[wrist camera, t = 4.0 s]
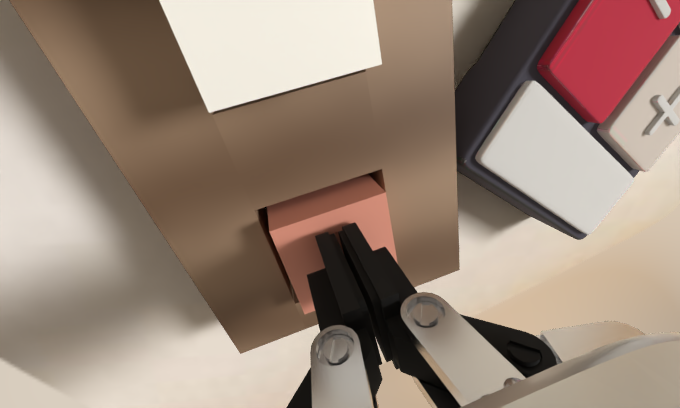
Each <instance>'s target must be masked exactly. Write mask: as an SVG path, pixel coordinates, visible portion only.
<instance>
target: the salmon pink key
mask: <svg viewBox="0 0 680 408" xmlns="http://www.w3.org/2000/svg"><path fill="white" fill-rule="evenodd" d="M267 212H268V222H269V232H270V234H271V237H272V239H273V241H274V244H275V246H276V248H277V251H278V253H279V255H280V258H281V260H282V262H283V265H284V267H285V270H286V272H287V274H288V277H289V279H290V281H291V284H292V286H293V288H294V291H295V293H296V295H297V298H298V300H299V302H300V305H301V307H302V310H303V312H304V314H307V313H310V312H313V311H315V308H314V304H313V300H312V295H311V291H310V287H309V283H308V279H307V274H310V273H313V272H316V271H318V270H321V269H324V268H325V265H324V262H323V259H322V256H321V253H320V250H319V247H318V244H317V241H316V238H315V236H316V235H319V234H322V233H325V232H328V233H329V235H330V234H333V233H334V234H335V236H336V238H337V240H338V242H339V245H340V247H341V249H342V251H343V248H342V245H341V241H340V237H339V234H338V232H339V231H342V226H345V225H348V224H351V223H354V222H355V223H356V224H357V226H358V227H359V229H360V231H361V232H362V234H363V235H364V237H365V239H366V240H367V242H368V244H369V245H370V247H371V249H372V250H373V251H374V250H377V249H379V248H382V247H386V248H387V249H388V251H389V252H390V254H391V255H392V256H393V258H394V259H395V261H396V262H397V256H396V250H395V244H394V238H393V232H392V226H391V220H390V214H389V208H388V202H387V196H386V192H385V191H384V190H383V189H382V188H381V187H380V186H379V185H378V184H377V183H376V182H375V181H374V180H373V179H372V178H371V176H370V175H369V174H365V175H362V176H359V177H355V178H352V179H349V180H346V181H343V182H340V183H337V184H334V185H331V186H328V187H325V188H322V189H319V190H316V191H313V192H310V193H306V194H303V195H300V196H297V197H294V198H291V199H288V200H285V201H282V202H279V203H276V204H273V205H270V206H267ZM343 253H344V252H343ZM344 256H345V255H344ZM397 264H398V262H397Z"/></svg>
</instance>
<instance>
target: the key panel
mask: <svg viewBox="0 0 680 408" xmlns="http://www.w3.org/2000/svg"><path fill="white" fill-rule="evenodd" d="M9 1H10V2H11V4H12V5H13V7H14V8H15V10H16V11H17V13H18V14H19V16H20V18H21V19H22V21H23V22H24V24H25V25H26V27H27V28H28V30H29V31H30V33H31V34H32V36H33V37H34V39H35V40H36V42H37V44H38V45H39V47H40V48H41V50H42V51H43V53H44V54H45V56H46V57H47V59H48V60H49V62H50V63H51V65H52V66H53V68H54V69H55V71H56V73H57V74H58V76H59V77H60V79H61V80H62V82H63V83H64V85H65V86H66V88H67V89H68V91H69V92H70V94H71V95H72V97H73V99H74V100H75V102H76V103H77V105H78V106H79V108H80V109H81V111H82V112H83V114H84V115H85V117H86V118H87V120H88V121H89V123H90V125H91V126H92V128H93V129H94V131H95V132H96V134H97V135H98V137H99V138H100V140H101V141H102V143H103V144H104V146H105V147H106V149H107V151H108V152H109V154H110V155H111V157H112V158H113V160H114V161H115V163H116V164H117V166H118V167H119V169H120V170H121V172H122V173H123V175H124V176H125V178H126V180H127V181H128V183H129V184H130V186H131V187H132V189H133V190H134V192H135V193H136V195H137V196H138V198H139V199H140V201H141V202H142V204H143V206H144V207H145V209H146V210H147V212H148V213H149V215H150V216H151V218H152V219H153V221H154V222H155V224H156V225H157V227H158V228H159V230H160V232H161V233H162V235H163V236H164V238H165V239H166V241H167V242H168V244H169V245H170V247H171V248H172V250H173V251H174V253H175V254H176V256H177V257H178V259H179V261H180V262H181V264H182V265H183V267H184V268H185V270H186V271H187V273H188V274H189V276H190V277H191V279H192V280H193V282H194V283H195V285H196V287H197V288H198V290H199V291H200V293H201V294H202V296H203V297H204V299H205V300H206V302H207V303H208V305H209V306H210V308H211V309H212V311H213V313H214V314H215V316H216V317H217V319H218V320H219V322H220V323H221V325H222V326H223V328H224V329H225V331H226V332H227V334H228V335H229V337H230V339H231V340H232V342H233V343H234V345H235V346H236V348H237V349H238V351H239V352H240V354H241V353H244V352H246V351H249V350H252V349H254V348H257V347H259V346H262V345H265V344H267V343H270V342H273V341H275V340H278V339H280V338H283V337H286V336H288V335H291V334H293V333H296V332H299V331H301V330H304V329H306V328H309V327H312V326H314V325H317V324H318V320H317V316H316V312H315V311H313V312H310V313H307V314H304V312H303V310H302V307H301V305H300V302H299V300H298V298H297V295H296V293H295V291H294V288H293V286H292V284H291V281H290V279H289V277H288V274H287V272H286V270H285V267H284V265H283V262H282V260H281V258H280V255H279V253H278V251H277V248H276V246H275V244H274V241H273V239H272V237H271V234H270V232H269V222H268V214H267V212H266V210H265V207H267V206H270V205H273V204H276V203H279V202H282V201H285V200H288V199H291V198H294V197H297V196H300V195H303V194H306V193H310V192H313V191H316V190H319V189H322V188H325V187H328V186H331V185H334V184H337V183H340V182H343V181H346V180H349V179H352V178H355V177H359V176H362V175H365V174H369V175H370V176H371V178H372V179H373V180H374V181H375V182H376V183H377V184H378V185H379V186H380V187H381V188H382V189H383V190H384V191H385V192H386V196H387V202H388V208H389V214H390V220H391V226H392V232H393V238H394V244H395V250H396V256H397V262H398V265H399V267H400V268H401V269H402V271H403V272H404V274H405V275H406V277H407V278H408V280H409V281H410V282H411V284H412V285H413V287H416V286H418V285H421V284H424V283H426V282H429V281H431V280H434V279H437V278H439V277H442V276H444V275H447V274H450V273H452V272H455V271H457V270H459V236H458V199H457V162H456V126H455V89H454V52H453V16H452V0H373V2H374V9H375V16H376V24H377V31H378V38H379V45H380V52H381V60H382V64H381V65H378V66H374V67H371V68H367V69H364V70H360V71H356V72H353V73H349V74H346V75H342V76H339V77H335V78H331V79H328V80H324V81H321V82H317V83H314V84H310V85H307V86H303V87H299V88H296V89H292V90H289V91H285V92H282V93H278V94H274V95H271V96H267V97H264V98H260V99H257V100H253V101H250V102H246V103H242V104H239V105H235V106H232V107H228V108H225V109H221V110H217V111H214V112H210V113H209V112H208V110H207V107H206V105H205V103H204V101H203V98H202V96H201V94H200V92H199V89H198V87H197V85H196V83H195V80H194V78H193V76H192V73H191V71H190V69H189V67H188V64H187V62H186V60H185V58H184V55H183V53H182V51H181V49H180V46H179V44H178V42H177V40H176V37H175V35H174V33H173V30H172V28H171V26H170V24H169V21H168V19H167V17H166V15H165V12H164V10H163V8H162V6H161V3H160V1H159V0H9Z"/></svg>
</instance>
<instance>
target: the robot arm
mask: <svg viewBox="0 0 680 408" xmlns="http://www.w3.org/2000/svg"><path fill="white" fill-rule="evenodd" d="M338 234H339V237H340V241H341V245H342V248H343V251H342V249H341V247H340V245H339V242H338V240H337V238H336V236H335V234H334V233H333V234H330V235H329V233H328V232H325V233H322V234H319V235H316V236H315V238H316V241H317V244H318V247H319V250H320V253H321V256H322V259H323V262H324V265H325V268H324V269H321V270H318V271H316V272H313V273H310V274H307V279H308V283H309V287H310V291H311V295H312V300H313V304H314V308H315V312H316V316H317V320H318V324H319V328H320V333H319V334H318V335H317V336H316V338H315V339H314V341H313V343H312V346H311V368H310V370H309V371H308V373H307V375H306V376H305V378H304V380H303V381H302V383H301V385H300V386H299V388H298V390H297V391H296V393H295V395H294V396H293V398H292V400H291V401H290V403H289V405H288V406H287V408H379V405H378V401H377V397H376V394H377V391H378V389H379V386H380V384H381V381H382V376H381V372H380V369H379V365H381V364H382V361H381V357H380V354H379V350H378V346H377V342H378V344H379V346H380V349H381V351H382V353H383V355H384V358H385V360H386V362H388V361H391V360H392V361H393V364H394V366H395V368H396V369H400V371H401V372H403V373H406V374H408V375H411V376H412V377H413V380H414V382H415V383H416V385H417V386H418V388H419V389H420V391H421V392H422V394H423V395H424V397H425V398H426V400H427V401H428V403H429V404H430V405H431V407H432V408H680V332H667V333H652V334H646V335H645V334H644V333H643V332H641V331H640V330H639V329H636V328H634V327H632V326H630V325H628V324H625V323H620V322H617V321H604V322H598V323H591V324H585V325H579V326H572V327H566V328H559V329H552V330H546V331H541V335H536V336H534V335H532V334H529V333H526V332H523V331H520V330H516V329H512V328H508V327H505V326H501V325H497V324H494V323H490V322H486V321H483V320H479V319H474V318H471V317H468V316H464V315H460V314H459V313H457V312H456V311H455V310H454V309H453V308H452V307H451V306H450V305H449V304H448V303H447V302H446V301H445V300H444V299H442V298H441V297H440V296H438V295H435V294H433V293H426V292H422V293H417V291H416V290H415V288H414V287H413V285H412V284H411V282H410V281H409V280H408V278H407V277H406V275H405V274H404V272H403V271H402V269H401V268H400V267H399V265H398V264H397V262H396V261H395V259H394V258H393V256H392V255H391V254H390V252H389V251H388V249H387V248H386V247H382V248H379V249H377V250H374V251H373V250H372V249H371V247H370V245H369V244H368V242H367V240H366V239H365V237H364V235H363V234H362V232H361V231H360V229H359V227H358V226H357V224H356V223H355V222H354V223H351V224H348V225H345V226H342V231H339V232H338ZM343 252H344V253H343ZM344 255H345V256H344ZM375 337H376V338H375ZM376 339H377V342H376Z"/></svg>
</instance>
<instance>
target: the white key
mask: <svg viewBox="0 0 680 408" xmlns="http://www.w3.org/2000/svg"><path fill="white" fill-rule="evenodd" d="M159 1H160V3H161V6H162V8H163V10H164V12H165V15H166V17H167V19H168V21H169V24H170V26H171V28H172V30H173V33H174V35H175V37H176V40H177V42H178V44H179V46H180V49H181V51H182V53H183V55H184V58H185V60H186V62H187V64H188V67H189V69H190V71H191V73H192V76H193V78H194V80H195V83H196V85H197V87H198V89H199V92H200V94H201V96H202V98H203V101H204V103H205V105H206V107H207V110H208V112H209V113H210V112H214V111H217V110H221V109H225V108H228V107H232V106H235V105H239V104H242V103H246V102H250V101H253V100H257V99H260V98H264V97H267V96H271V95H274V94H278V93H282V92H285V91H289V90H292V89H296V88H299V87H303V86H307V85H310V84H314V83H317V82H321V81H324V80H328V79H331V78H335V77H339V76H342V75H346V74H349V73H353V72H356V71H360V70H364V69H367V68H371V67H374V66H378V65H381V64H382V60H381V52H380V45H379V38H378V31H377V24H376V16H375V9H374V2H373V0H159Z"/></svg>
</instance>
